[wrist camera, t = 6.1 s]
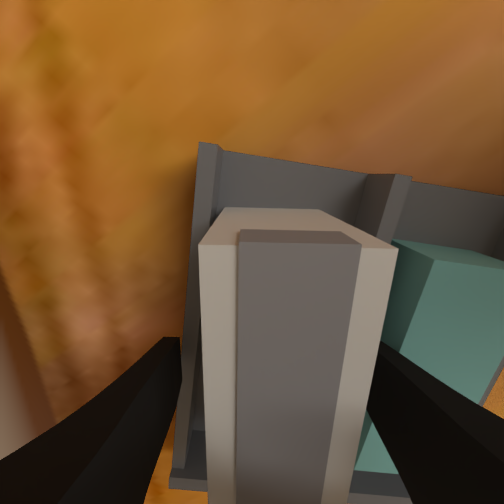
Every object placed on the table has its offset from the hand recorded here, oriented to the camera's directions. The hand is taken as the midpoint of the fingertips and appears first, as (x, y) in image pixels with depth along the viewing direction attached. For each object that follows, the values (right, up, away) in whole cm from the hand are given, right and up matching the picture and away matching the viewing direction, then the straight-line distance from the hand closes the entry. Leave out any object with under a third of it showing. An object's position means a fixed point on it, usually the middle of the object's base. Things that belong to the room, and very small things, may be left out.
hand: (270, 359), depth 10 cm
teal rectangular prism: (+7, 0, +3) cm, 7 cm away
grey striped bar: (0, +1, +2) cm, 3 cm away
